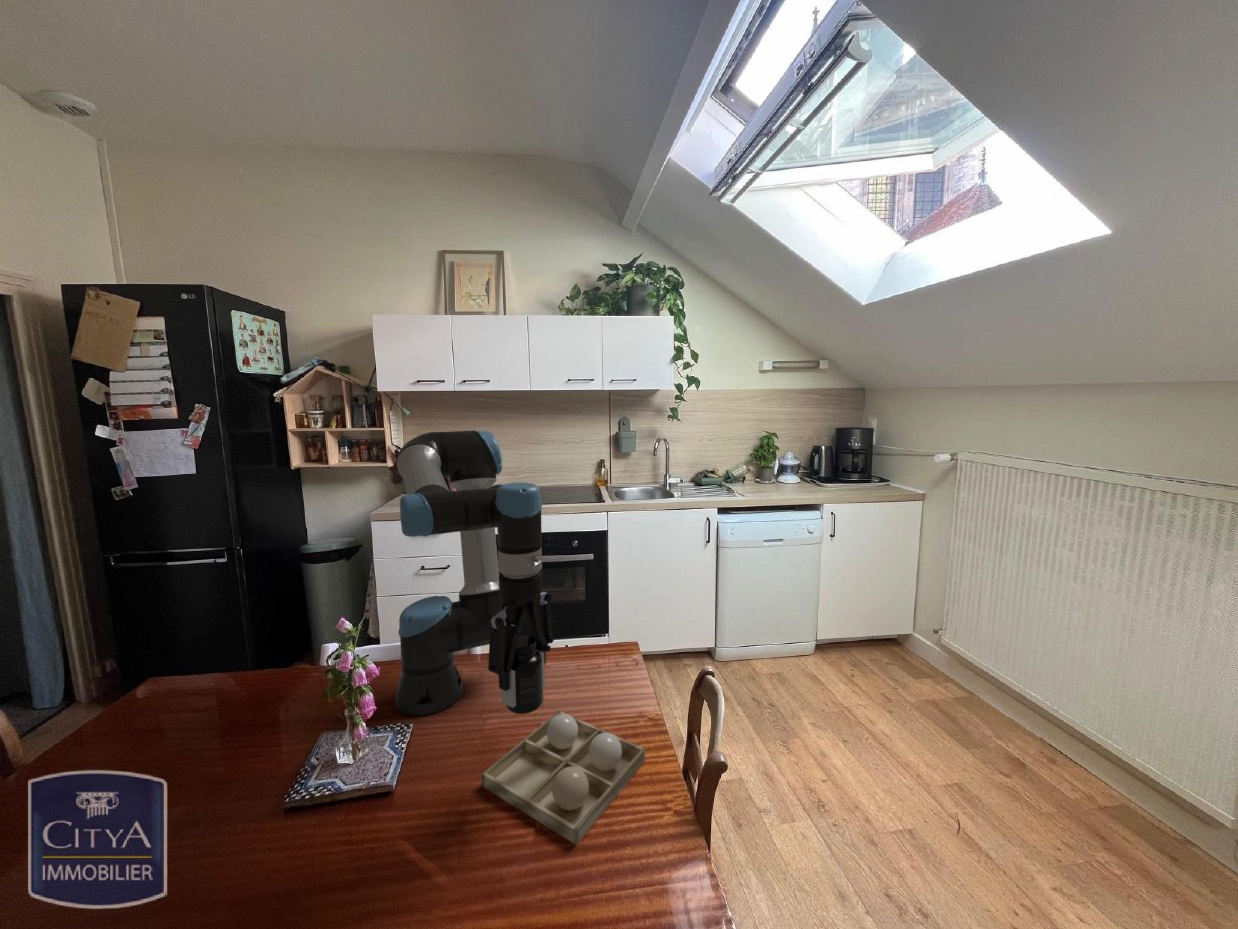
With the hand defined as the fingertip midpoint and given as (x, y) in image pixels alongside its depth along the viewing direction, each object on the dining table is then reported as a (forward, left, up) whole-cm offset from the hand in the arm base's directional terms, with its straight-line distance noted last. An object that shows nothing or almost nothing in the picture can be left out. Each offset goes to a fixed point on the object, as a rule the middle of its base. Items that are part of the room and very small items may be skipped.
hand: (524, 693), depth 89 cm
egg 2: (+11, 0, -17) cm, 20 cm away
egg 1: (0, +11, -17) cm, 20 cm away
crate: (+5, +5, -18) cm, 20 cm away
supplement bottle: (0, 0, -2) cm, 2 cm away
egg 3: (+11, +11, -17) cm, 23 cm away
